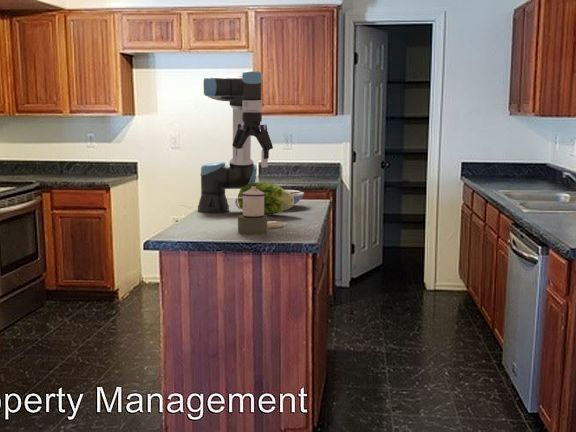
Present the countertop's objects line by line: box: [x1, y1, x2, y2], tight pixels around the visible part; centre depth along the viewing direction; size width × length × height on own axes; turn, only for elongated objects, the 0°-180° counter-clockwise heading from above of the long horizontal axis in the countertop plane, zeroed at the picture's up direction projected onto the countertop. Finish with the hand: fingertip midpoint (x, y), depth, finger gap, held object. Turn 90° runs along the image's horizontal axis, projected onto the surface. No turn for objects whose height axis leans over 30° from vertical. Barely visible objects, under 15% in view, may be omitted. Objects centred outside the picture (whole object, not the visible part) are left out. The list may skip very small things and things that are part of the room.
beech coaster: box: [267, 220, 284, 229], centre depth 264 cm, size 10×10×1 cm
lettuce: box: [237, 182, 295, 216], centre depth 289 cm, size 15×27×16 cm, turn 82°
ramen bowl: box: [285, 189, 307, 205], centre depth 315 cm, size 25×23×8 cm
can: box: [237, 213, 268, 236], centre depth 250 cm, size 12×12×7 cm
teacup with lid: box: [234, 186, 265, 217], centre depth 249 cm, size 12×9×12 cm
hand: (252, 166), depth 246 cm, fingers open, 13 cm apart
